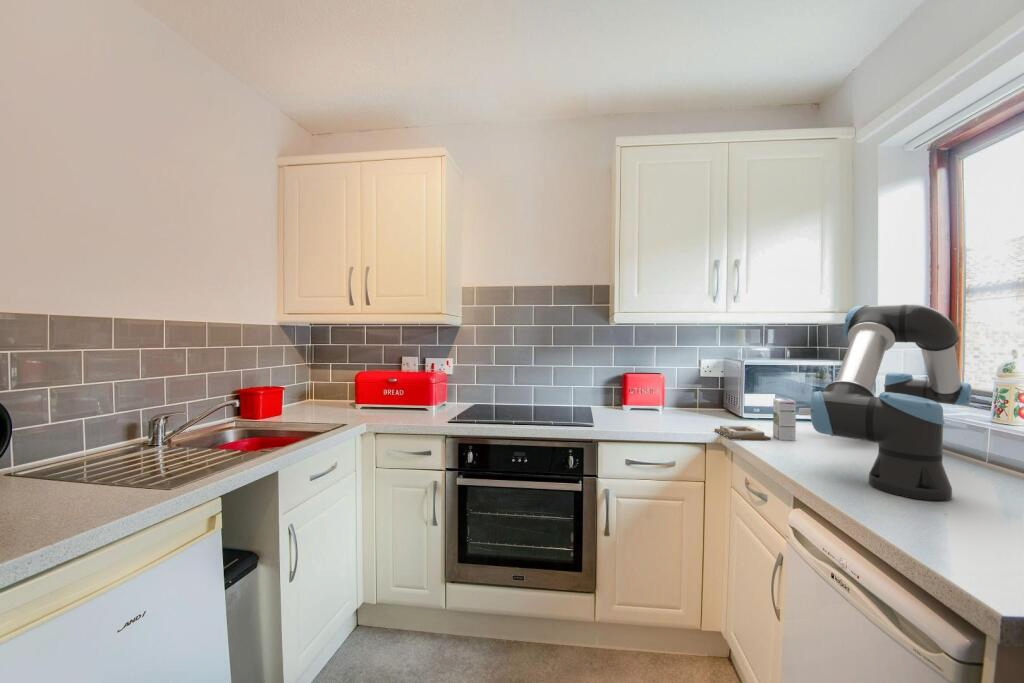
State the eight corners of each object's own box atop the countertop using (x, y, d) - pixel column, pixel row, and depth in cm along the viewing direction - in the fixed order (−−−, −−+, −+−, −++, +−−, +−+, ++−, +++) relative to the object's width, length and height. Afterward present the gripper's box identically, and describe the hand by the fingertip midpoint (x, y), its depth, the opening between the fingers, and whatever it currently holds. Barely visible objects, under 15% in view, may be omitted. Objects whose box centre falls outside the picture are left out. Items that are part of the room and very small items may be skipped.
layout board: (770, 440, 156) (770, 433, 156) (731, 439, 157) (731, 433, 157) (750, 431, 170) (750, 425, 170) (714, 431, 171) (714, 424, 171)
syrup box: (796, 441, 156) (797, 400, 156) (778, 440, 157) (779, 400, 157) (789, 437, 162) (790, 398, 162) (772, 436, 163) (772, 397, 163)
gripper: (899, 433, 146) (835, 433, 147) (844, 419, 171) (790, 418, 172) (900, 411, 146) (836, 410, 147) (845, 400, 171) (790, 399, 172)
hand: (811, 415), depth 159 cm, fingers open, 13 cm apart
